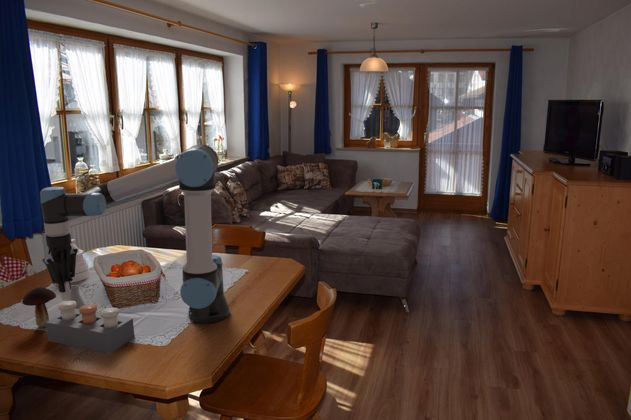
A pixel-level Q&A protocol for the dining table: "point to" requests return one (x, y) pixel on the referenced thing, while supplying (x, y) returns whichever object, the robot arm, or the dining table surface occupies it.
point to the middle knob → (88, 313)
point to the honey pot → (79, 265)
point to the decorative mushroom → (39, 303)
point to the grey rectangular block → (90, 333)
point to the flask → (76, 296)
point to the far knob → (68, 310)
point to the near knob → (110, 317)
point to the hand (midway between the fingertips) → (66, 299)
